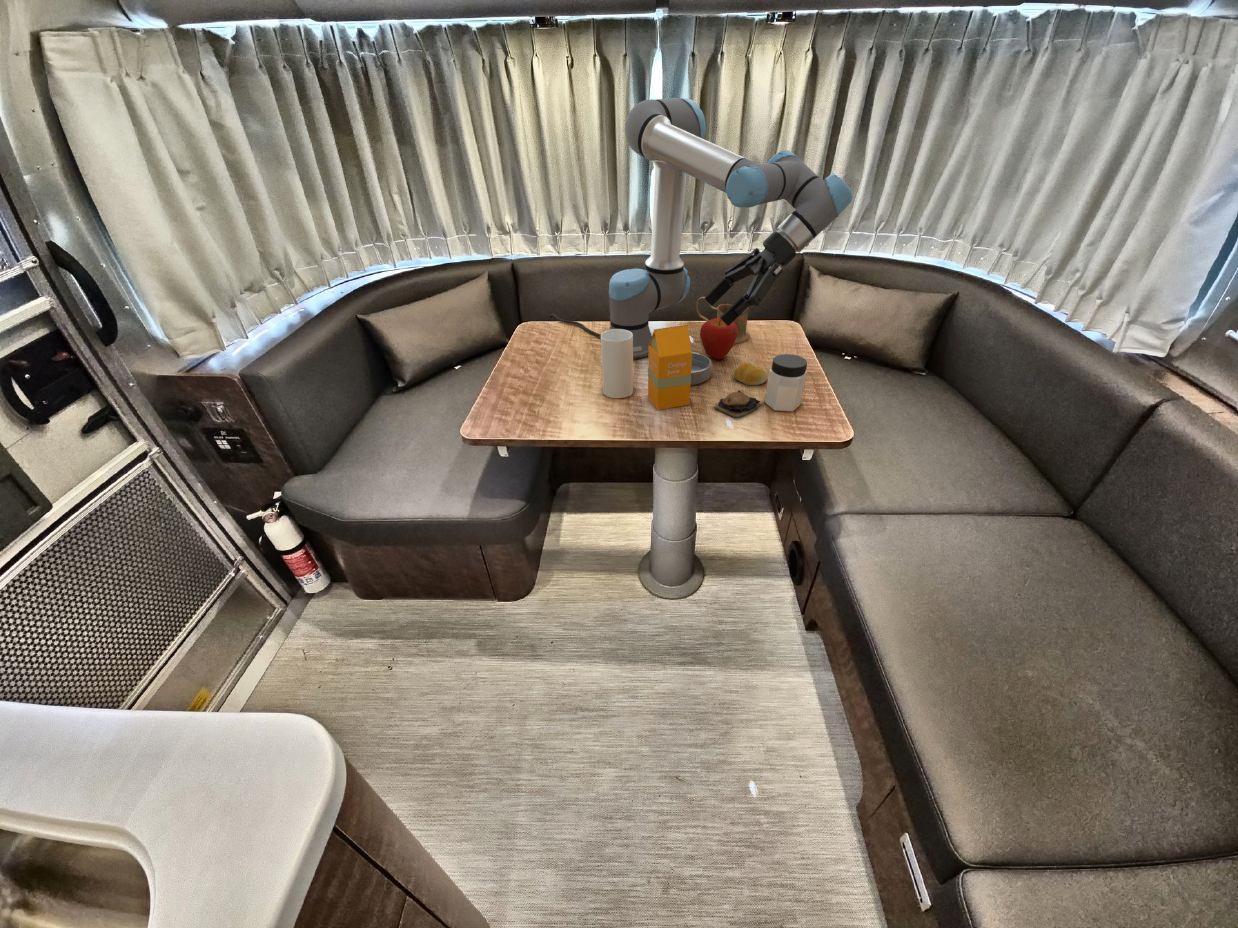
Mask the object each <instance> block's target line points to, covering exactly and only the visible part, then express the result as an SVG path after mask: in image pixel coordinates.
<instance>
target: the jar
mask: <svg viewBox="0 0 1238 928" xmlns="http://www.w3.org/2000/svg"><path fill="white" fill-rule="evenodd" d="M807 369H808V361H807V359H806V358H804V357H803V356H800V355H797V354H792V353H791V354H789V353H783V354H778V355H776V356H774V357H773V358H772V364H771V367H770V369H769V372H768V379H767V384H766V391H765V397H764V403H765V404H766V405H767V406H768V407H770V408H771V409H772V410H773V411H777V412H779V411H780V412H794V411H796V409H797V408H798V407H800V406H801V404H802V399H803V396H804V395H803V394H804V390H805V385H806V379H807V376H808V375H807V374H808V371H807Z"/></svg>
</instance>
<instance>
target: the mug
mask: <svg viewBox="0 0 1238 928" xmlns="http://www.w3.org/2000/svg"><path fill="white" fill-rule="evenodd" d="M705 297H706V296H701V297H699V298H698V299H697V300H696V303H695V304H696V305H695V309H696V314H697V315H698V317H699V318H701V319H702V320H704V321H705V322H707V321H708V320H709V318H707V317H706V316H704V315H702V314H701V312H700V310H699V301H700V300H705ZM708 305H709V308H711V309H712V310H713V311H716V318H720V317H721V316H722V315H723V314H724V313H725V312H726V311H727V310H728V309H729V308H730V307H731V306H732V305H733V304H729V303H726V304H725V303H722V304H719V305H717V307H714V305H713V306H711V305H710V304H709V303H708ZM749 310H750V306H749V307H748V308H747V309H746V310H745V311H744V312H743V313H742V314H741V315H740V316H738V317H737V318H736V319H735V320H734V321H733V322H734V323H735V325H736V326H737V328H738V333H737V338H736V340H735V342H734V345H737V344H742V343H745V342H747V340H748V339H749V334H748V332H747V326H748V318H749V317H748V316H749Z"/></svg>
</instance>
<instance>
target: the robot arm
mask: <svg viewBox="0 0 1238 928" xmlns="http://www.w3.org/2000/svg"><path fill="white" fill-rule="evenodd" d="M705 135H706V119H705V115H704V113H703V110H702V109H701V108H700V105H699V104H698V103H697V102H696V101H695V100H693V99H691V98H685V97H683V98H682V97H680V96H679V97H671V98H658V99H653V98H652V99H644V100H642V101H639V102H638V103H637V104H635V105H634V106H633V107H632V108H631V109H630V111H629V112H628V114H627V116H626V120H625V124H624V136H625V139H626V142H627V144H628V146H629V147H630V149H631V150H632V151H633V152H634V153H636V154H637V155H639V156H640V157H642V158H644V159H646V160H649V161H651V162H652V163H653V164H654V167H655V169H654V187H653V202H652V203H653V204H652V207H653V208H652V221H651V223H652V224H651V225H652V226H651V243H650V256H649V257H648V258H647V259H646V260H645V262H644V268H643V269H642V268H629V269H628V268H627V269H623V270H620V271H618V272H615V273H614V274H613V275H612V276H611V278H610V279H609V287H608V298H609V323H610V327H609V330H612V329H623V330H628V331H630V332H631V333H632V334H633V360H638V359H643V358H646V357H648V345H649V343H650V340H651V337H652V332H651V330H650V326H649V320H650V319H649V314H650V313H652V312H653V313H654V312H655V311H659V310H662V309H665V308H668V307H669V308H671V307H673V306H675V305H677V304H679V303H681V302H682V301H684V300H685V299H686V297H687V295H688V294H689V291H690V288H691V287H690V286H691V278H690V276H689V275H688V274H689V272H688V270H687V268H686V267H685V262H684V261H683V260H682V258H681V257H680V255H681V243H682V231H683V220H684V209H685V199H686V198H685V196H686V186H687V185H686V183H687V175H689V176H691V177H693V178H695V179H697V180H699V181H701V182H703V183H705V184H707V185H709V186H711V187H713V188H715V189H716V190H719V191H721V192H723V193H725V194H726V197H727V199H728V200H729V202H730V203H731V205H733V206H734V207H736V208H742V209H743V208H754V207H757V206H759V205H763V204H764V205H765V204H769V203H772V202H777V201H782V200H785V201H786V202H787V203H788V204H789V205H790V206H791V207H792V208H793V209H795V210H793V211H792V212H791V213H790V214H789V215H788V216H787V217H786V218H785V219H784V220H783V221H782V222H781V223H780V224H779V225H778V226H777V231H776V230H775V231H772V232H771V233H770V235H768V236H767V238H765V239H764V240H763V242H762V245H763V247H764V249H763V250H762V251H761V250H760V248H758V247H756V248H754V249H753V250H752V251H751V252H750V253H748V254H747V255H746V256H744V257H743V258H741V259H740V260H739V261H737V262H736V263H734V264H733V265H731V266H729V267H728V268H727V269H726V270H724V271H723V275H724V276H723V278H722V280H721V281H720V282H719V283H717V285H716V286H715V287H714V288H712V290H711V291H710V292H709V293H708V294H707V295H706V296H704V297H705V299H704V300H705V301H706V302H707V303H708V305H709V304H710V305H711V306H713V307H714V305H715V304H716V303H717V302H718V301H719V300H720V299H721V298H722V297H723V296H724V295H725V294H726V293H727V292H729V290H730V289H731V288H732V287H734V285H735V283H737V282H739V281H741V280H743V279H745V278H748V277H749V276H751V275H752V276H754V277H753V278H752V281H751V283H750V284H749V287H748V289H747V291H746V293H744V294H742V295H741V296H740V297H739V298H738V300H736V301H735V303H733V304H731V305H732V306H731V307H730V308H729V309H728V310H727V311H726V312H725V313H724V314H723V315H722V316H721V317H720V318H721V320H722V321H723V322H724V323H725V324H726V325H727V326H729V325H730V324H731V323H732V322H733V321H734V320H735V319H736V318H737V317H738V316H740V315H741V314H742V313H743V312H744V311H745V310H746V309H747V308H748V307H749V308H750V307H751V306H755V307H758V306H759V305H761V303H762V301H763V300H764V299H765V297H766V296H767V294H768V292H769V291H770V290H771V288H772V286H773V285H774V284H775V282H776V280H778V278H779V277H780V276H781V275H782V274H783V272H784V269H783V268H782V267H786V266H788V265H789V264H790V263H791V262H792V261H793V260H794V259H795V258H796V257H797V253H801V252H802V251H803V250H804V249H805V248H807V247H809V245H810V243H812V242H813V240H814V239H816V237H818V235H819V234H821V233H822V232H823V231H824V230H825V229H826V228H827V227H828V226H829V225H831V223H833V222H834V221H835V219H836V218H838V217H839V216H840V215H841V214H842V213H843V211H845V209H847V207H848V206H849V205H850V204H851V203H852V201H853V192H852V190H851V188H850V187H849V185H848V184H847V183H846V181H845V180H844V179H842V178H841V177H840V176H838V175H836V174H834V173H833V174H829V175H828V176H827V177H825V178H824V179H823V178H822V177H819V176H818V175H817V174H816V173H815V171H814V170H812V169H811V168H810V167H809V166H808V165H807V164H806V163H805V162H804V161H802V159H801V158H800V157H799V156H798V155H796V154H794V153H793V152H792V151H791V150H788V149H782V150H779V152H777V153H775V154H773V155H772V157H771V158H770V159H769V160H768V162H767V163H762V164H761V163H757V162H755V161H752V160H750V159H748V158H746V157H745V156H742V155H740V154H737V153H735V152H733V151H730V150H729V149H726V148H724V147H722V146H719V145H718V144H716V143H713V142H711V141H709V140H706V139H705ZM710 305H709V306H710ZM548 318H551V319H552V318H554V319H555V320H556V321H558V322H560V323H564V324H570V325H571V324H572V325H576V326H579V327H580V328H582V330H584V331H586V332H587V333H589V334H590V335H592V336H595V337H598V338H599V339H601V334H602V333H598V332H596V331H594V330H592V329H590V328H588V327H586V326H585V325H584V324H583V323H581V322H578V321H575V320H569V319H564V318H560V317H558V316H557V315H556V314H555V313H551V314H549V317H548Z"/></svg>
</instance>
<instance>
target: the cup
mask: <svg viewBox="0 0 1238 928" xmlns="http://www.w3.org/2000/svg"><path fill="white" fill-rule="evenodd" d="M600 334H601V338H600V352H601V353H600V354H601V355H600V356H601V377H602V378H601V379H602V393H603V395H604V396H606V397H608V398H611V399H624V398H627V397H630V396H631V395H632V394H633V393H634V359H633V334H632V333H631V332H630V331H628V330H623V329H612V330H610V329H607V330H605V331H602V333H600Z"/></svg>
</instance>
